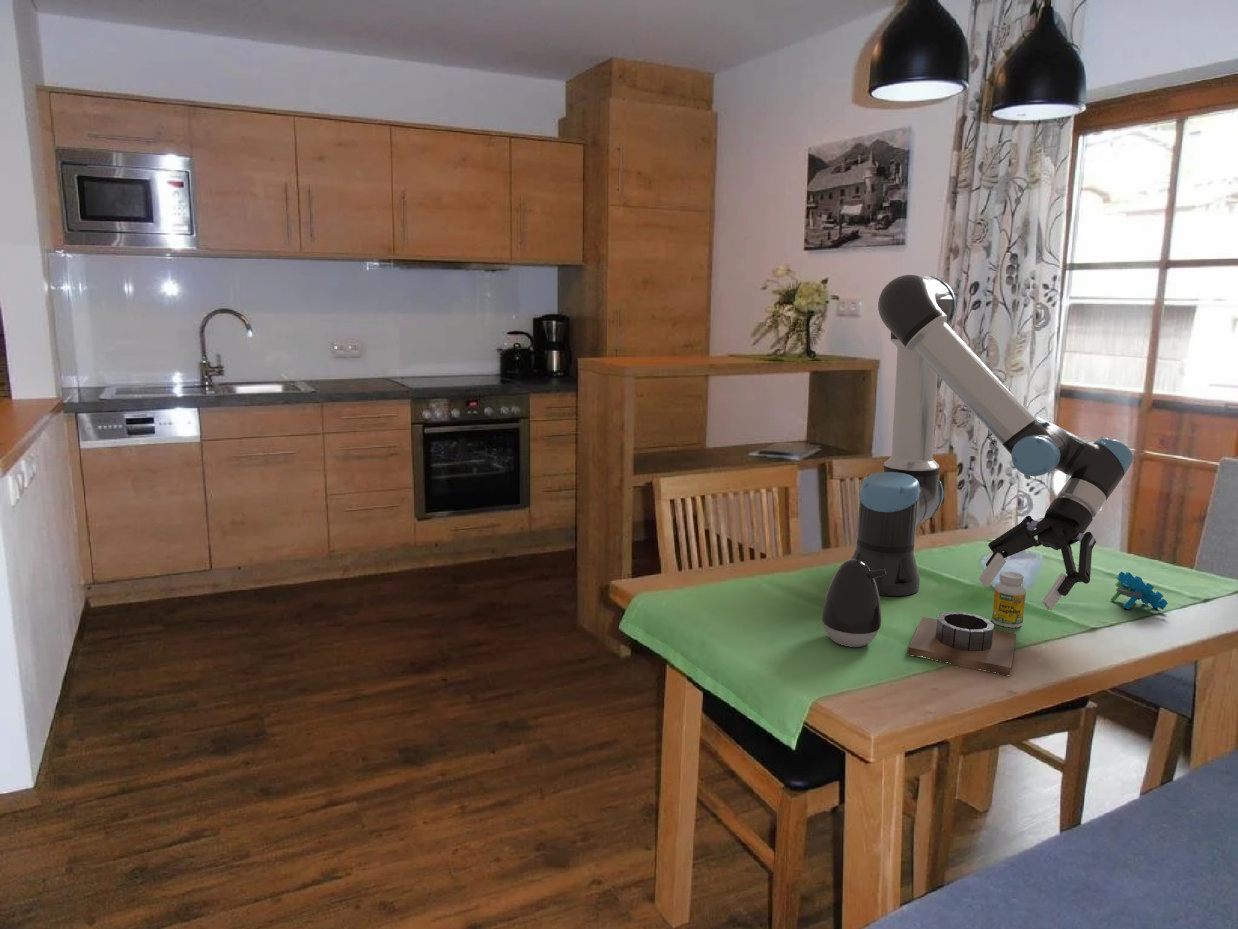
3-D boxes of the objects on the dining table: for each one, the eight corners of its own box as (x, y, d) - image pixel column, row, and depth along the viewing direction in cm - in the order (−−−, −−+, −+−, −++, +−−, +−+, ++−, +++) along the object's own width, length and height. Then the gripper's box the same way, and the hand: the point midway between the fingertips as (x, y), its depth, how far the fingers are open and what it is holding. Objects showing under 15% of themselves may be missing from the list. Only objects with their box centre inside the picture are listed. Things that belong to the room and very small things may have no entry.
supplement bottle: (1020, 619, 161) (1025, 572, 159) (1024, 630, 156) (1030, 581, 154) (989, 616, 162) (995, 568, 160) (992, 626, 157) (998, 577, 155)
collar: (932, 644, 145) (934, 625, 144) (939, 626, 153) (941, 608, 152) (989, 655, 141) (991, 635, 140) (993, 636, 148) (995, 618, 148)
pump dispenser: (871, 658, 142) (878, 573, 139) (812, 644, 147) (817, 562, 144) (887, 638, 151) (894, 557, 148) (830, 625, 156) (836, 547, 153)
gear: (1180, 609, 163) (1148, 574, 162) (1159, 631, 163) (1127, 596, 161) (1138, 597, 174) (1108, 564, 173) (1119, 617, 174) (1088, 584, 172)
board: (907, 655, 144) (908, 647, 143) (921, 624, 157) (922, 616, 157) (1009, 676, 136) (1010, 667, 136) (1015, 641, 150) (1016, 633, 150)
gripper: (1146, 536, 152) (1083, 628, 148) (1024, 505, 173) (967, 584, 170) (1132, 511, 148) (1068, 605, 145) (1010, 482, 170) (951, 563, 166)
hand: (1013, 594), depth 157 cm, fingers open, 13 cm apart
